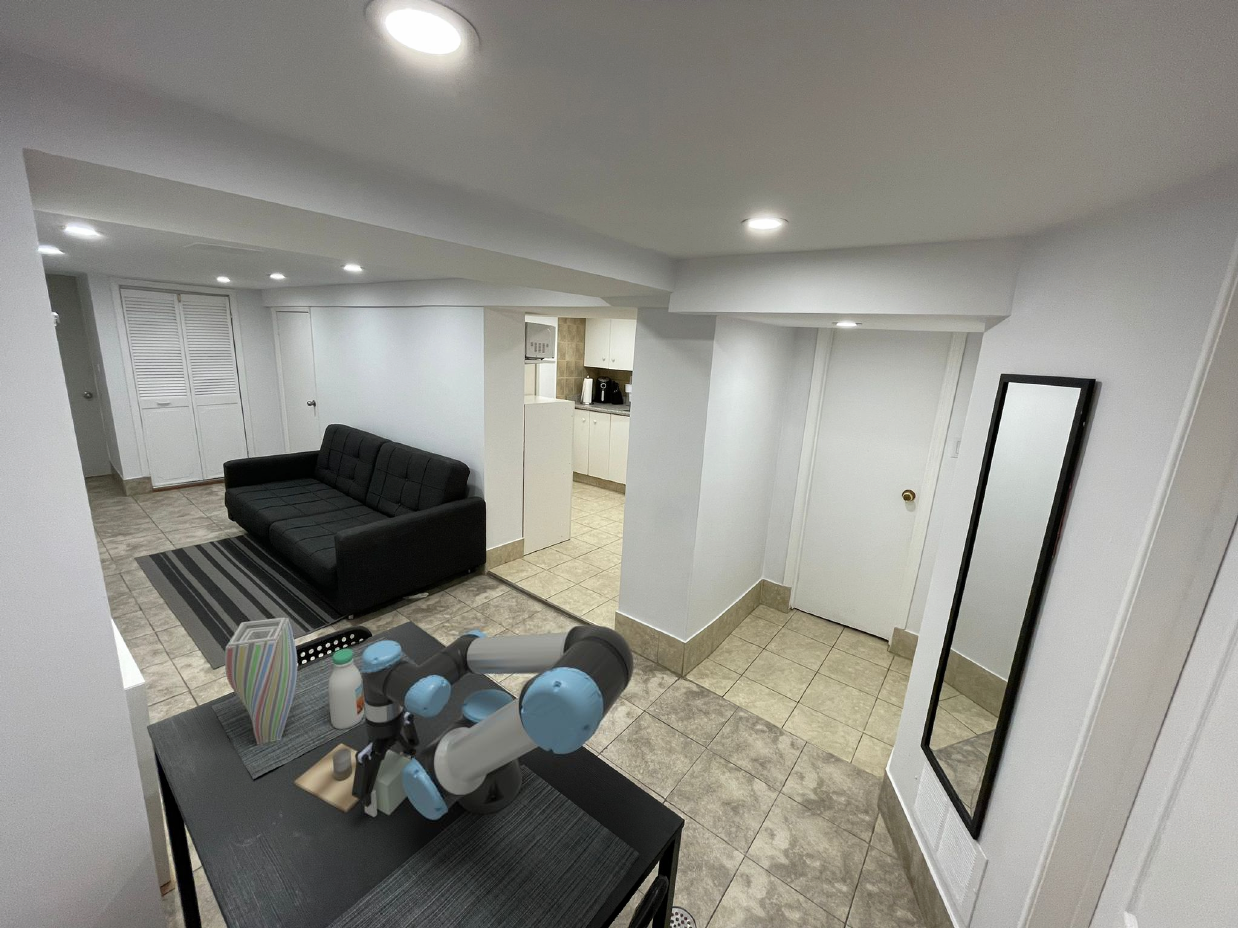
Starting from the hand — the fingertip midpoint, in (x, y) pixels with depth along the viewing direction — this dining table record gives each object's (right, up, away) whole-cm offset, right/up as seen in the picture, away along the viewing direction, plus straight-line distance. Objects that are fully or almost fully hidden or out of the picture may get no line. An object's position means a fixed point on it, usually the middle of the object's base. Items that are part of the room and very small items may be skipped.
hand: (389, 794), depth 111 cm
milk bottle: (-20, +6, +20) cm, 29 cm away
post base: (-12, +2, +4) cm, 13 cm away
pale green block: (0, 0, 0) cm, 0 cm away
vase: (-36, +6, +14) cm, 39 cm away
